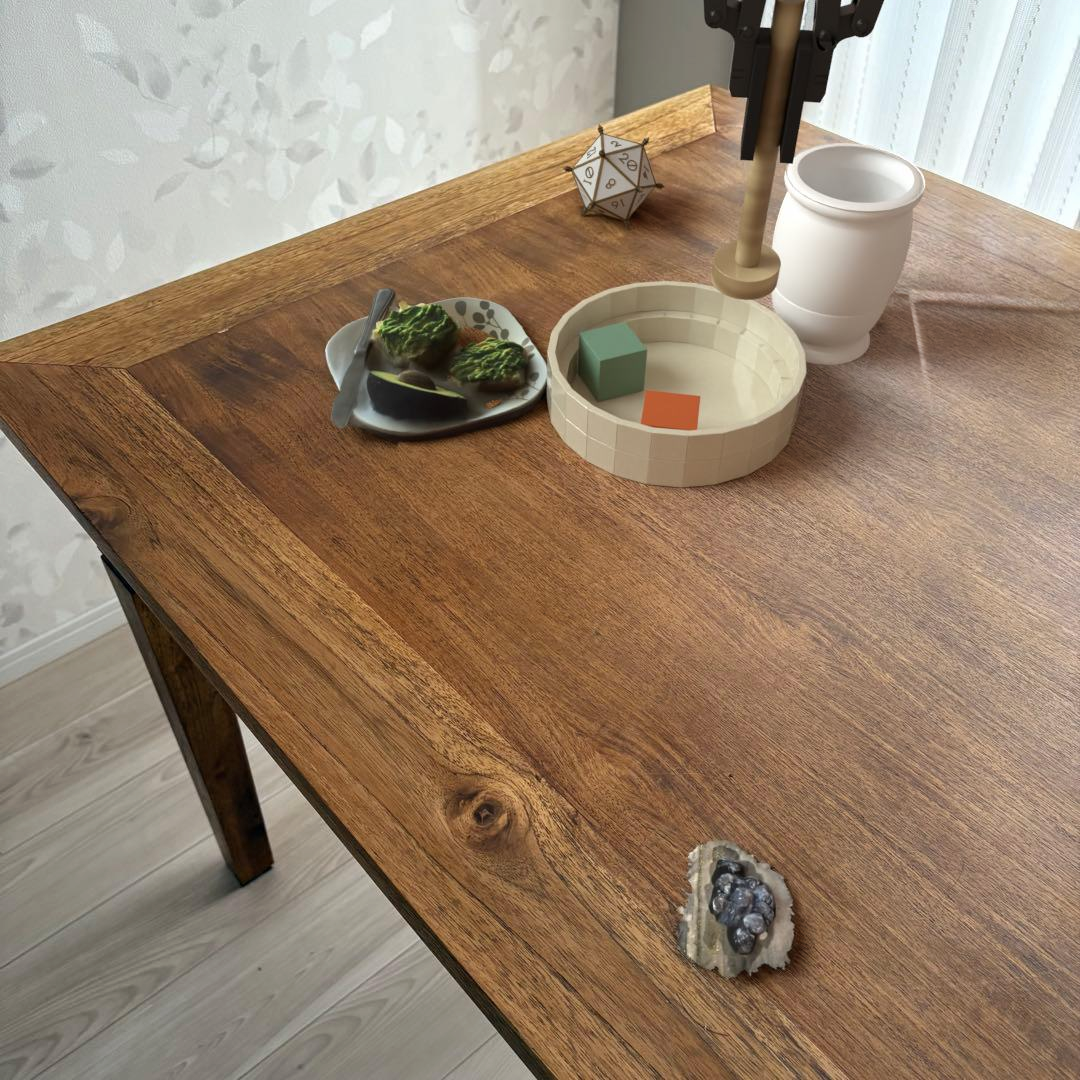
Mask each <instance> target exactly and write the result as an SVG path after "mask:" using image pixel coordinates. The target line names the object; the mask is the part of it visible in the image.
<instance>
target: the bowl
mask: <svg viewBox="0 0 1080 1080" xmlns="http://www.w3.org/2000/svg"><path fill="white" fill-rule="evenodd" d="M622 322H626V323H627V324H628V326H629V327H630V328H631V329H632V331H633V332H634V333H635V334H636V336H637V337H638V338H639V340H640V341H641V342H642V343H643V345H644V346H645V347H646V348H647V359H646V370H645V381H644V390H643V391H640V392H636V393H632V394H628V395H625V396H621V397H617V398H613V399H609V400H605V401H601V402H597V400H596V399H595V397H594V396H593V395H592V393H591V392H590V390H589V389H588V387H587V386H586V385H585V383H584V382H583V380H582V379H581V378H580V376H579V375H578V352H579V333H580V332H584V331H588V330H592V329H596V328H601V327H605V326H609V325H613V324H618V323H622ZM546 352H547V356H546V357H547V359H546V364H547V387H546V406H547V410H548V414H549V419H550V423H551V425H552V427H553V428H554V429H555V431H556V432H557V434H558V435H559V437H560V438H561V440H562V442H563V443H564V444H565V445H566V446H568V447H569V448H570V449H571V450H572V451H573V452H574V453H576V454H577V455H578V456H579V457H580V458H582V459H583V460H584V461H586V462H587V463H589V464H591V465H593V466H595V467H597V468H599V469H601V470H603V471H605V472H607V473H609V474H611V475H612V476H613V475H614V476H615V477H619V478H623V479H626V480H629V481H634V482H636V483H641V484H644V485H649V486H658V487H659V486H661V487H670V488H671V487H672V488H691V487H692V488H693V487H704V486H715V485H718V484H722V483H726V482H729V481H732V480H736V479H739V478H743V477H746V476H748V475H750V474H753V473H754V472H756V471H758V470H759V469H761V468H763V467H764V466H766V465H767V464H769V463H771V462H772V461H773V460H775V458H776V457H777V456H778V455H779V454H780V453H781V452H782V451H783V450H784V448H786V446H787V445H788V444H789V443H790V439H791V437H792V434H793V431H794V429H795V427H796V423H797V419H798V414H799V411H800V410H799V409H800V406H801V400H802V397H803V392H804V387H805V382H806V378H807V375H808V373H807V362H806V354H805V351H804V349H803V347H802V345H801V343H800V341H799V339H798V337H797V335H796V333H795V332H794V331H793V330H792V329H791V328H790V327H789V326H788V325H787V324H786V323H785V322H784V321H783V320H782V319H781V318H780V317H779V316H778V315H777V314H775V311H772V310H771V309H769V308H767V307H766V306H764V305H763V304H761V303H759V302H758V301H756V300H755V299H754V300H741V299H735V298H732V297H729V296H727V295H724V294H723V293H721V292H720V291H718V290H717V289H716V288H715V287H714V286H712V285H708V284H702V283H700V282H699V283H698V282H688V281H687V282H686V281H674V280H659V281H658V280H657V281H643V282H633V283H629V284H625V285H620V286H615V287H610V288H607V289H605V290H603V291H601V292H597V293H596V294H594V295H591V296H589V297H586V298H584V299H583V300H581V301H579V302H578V303H577V304H576V305H574V306H573V307H572V308H570V309H569V310H568V311H566V312H565V313H563V315H562V317H561V318H560V319H559V321H558V322H557V324H556V325H555V326H554V328H553V329H552V331H551V333H550V337H549V342H548V347H547V351H546ZM646 390H649V391H659V392H668V393H677V394H687V395H696V396H700V407H699V416H698V426H697V430H677V429H666V428H654V427H650V426H647V425H643V424H641V418H642V412H643V405H644V399H645V393H646Z"/></svg>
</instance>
